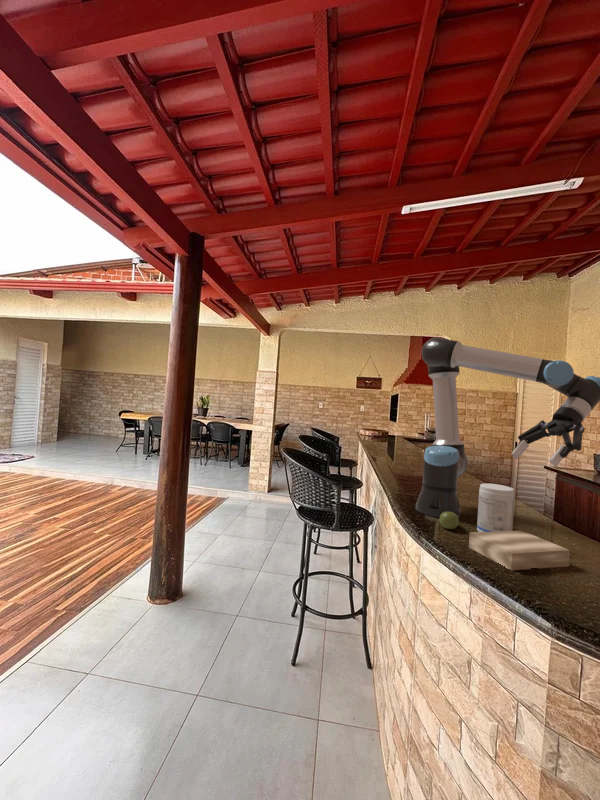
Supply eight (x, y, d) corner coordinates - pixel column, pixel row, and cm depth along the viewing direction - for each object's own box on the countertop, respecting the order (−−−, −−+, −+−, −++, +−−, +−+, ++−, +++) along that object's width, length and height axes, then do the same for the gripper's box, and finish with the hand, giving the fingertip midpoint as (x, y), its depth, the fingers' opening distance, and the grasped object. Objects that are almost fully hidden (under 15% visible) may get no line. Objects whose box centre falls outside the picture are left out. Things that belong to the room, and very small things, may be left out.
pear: (440, 510, 116) (440, 508, 125) (438, 528, 115) (439, 525, 124) (459, 513, 114) (458, 511, 123) (458, 532, 113) (457, 528, 122)
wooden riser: (468, 547, 102) (469, 532, 102) (521, 544, 107) (522, 530, 107) (511, 570, 88) (512, 553, 88) (568, 566, 93) (569, 550, 93)
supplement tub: (489, 528, 120) (492, 482, 120) (518, 538, 112) (522, 489, 112) (469, 531, 116) (472, 483, 116) (498, 542, 107) (502, 491, 107)
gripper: (618, 425, 110) (578, 476, 106) (542, 420, 134) (506, 461, 130) (606, 406, 109) (564, 457, 104) (531, 404, 133) (494, 446, 128)
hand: (532, 459), depth 117 cm, fingers open, 13 cm apart
